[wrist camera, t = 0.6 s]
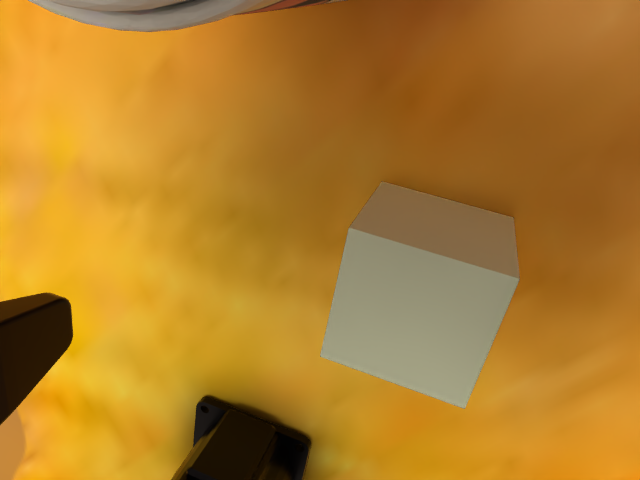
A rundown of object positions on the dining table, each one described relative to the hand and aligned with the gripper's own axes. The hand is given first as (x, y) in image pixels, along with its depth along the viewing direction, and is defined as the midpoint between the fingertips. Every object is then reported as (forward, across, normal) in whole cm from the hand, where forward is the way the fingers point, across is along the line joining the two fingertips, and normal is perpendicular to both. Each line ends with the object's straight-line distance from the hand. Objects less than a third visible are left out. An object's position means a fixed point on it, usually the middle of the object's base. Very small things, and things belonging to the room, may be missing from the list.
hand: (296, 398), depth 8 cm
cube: (+12, -2, +2) cm, 13 cm away
